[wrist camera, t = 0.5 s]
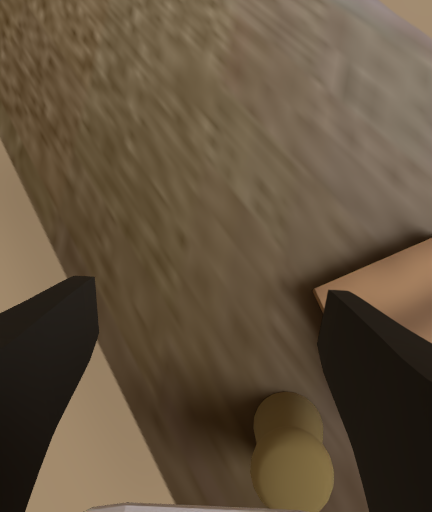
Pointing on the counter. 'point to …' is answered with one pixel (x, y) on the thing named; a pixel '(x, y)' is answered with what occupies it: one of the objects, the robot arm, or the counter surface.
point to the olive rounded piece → (290, 455)
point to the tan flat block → (394, 287)
